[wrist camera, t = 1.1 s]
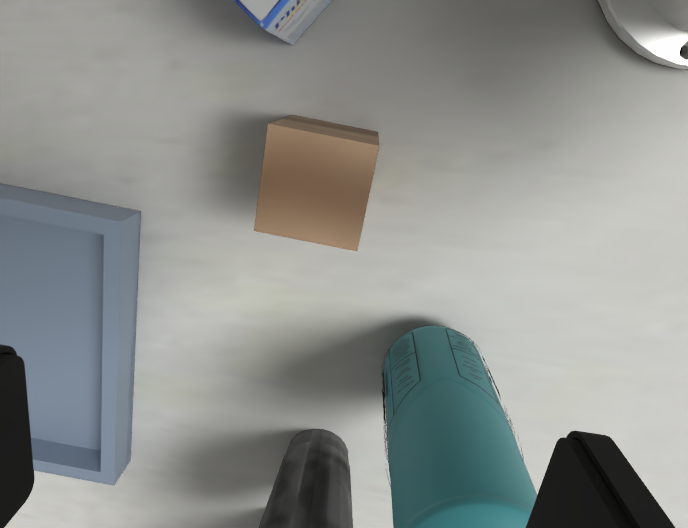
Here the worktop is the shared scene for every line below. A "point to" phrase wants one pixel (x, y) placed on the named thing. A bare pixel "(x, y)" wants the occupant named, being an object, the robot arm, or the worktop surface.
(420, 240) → the worktop surface
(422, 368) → the beverage bottle
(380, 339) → the worktop surface
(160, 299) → the worktop surface
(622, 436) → the worktop surface
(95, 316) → the tray
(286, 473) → the beverage cup
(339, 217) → the walnut block
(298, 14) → the medicine box
